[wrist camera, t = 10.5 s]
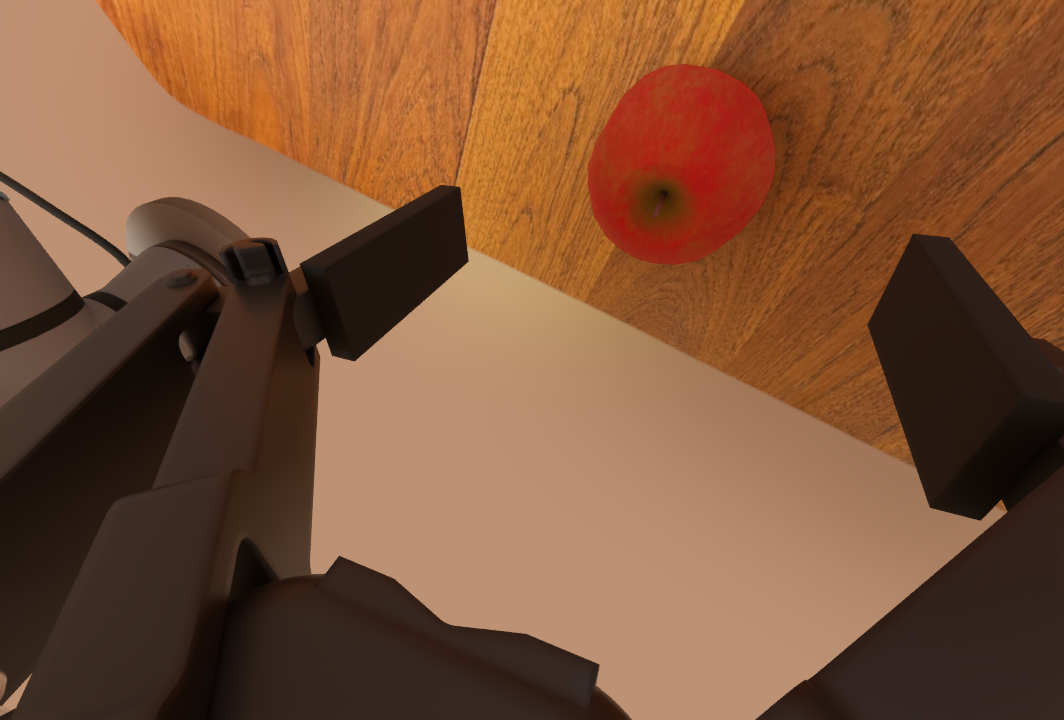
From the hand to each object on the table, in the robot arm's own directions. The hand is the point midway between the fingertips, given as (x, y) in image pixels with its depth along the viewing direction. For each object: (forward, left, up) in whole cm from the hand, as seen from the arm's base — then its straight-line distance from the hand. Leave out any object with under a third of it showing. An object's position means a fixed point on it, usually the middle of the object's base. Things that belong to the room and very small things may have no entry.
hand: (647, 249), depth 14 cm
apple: (0, 0, -14) cm, 14 cm away
